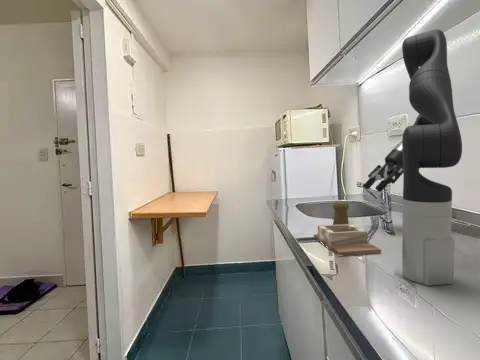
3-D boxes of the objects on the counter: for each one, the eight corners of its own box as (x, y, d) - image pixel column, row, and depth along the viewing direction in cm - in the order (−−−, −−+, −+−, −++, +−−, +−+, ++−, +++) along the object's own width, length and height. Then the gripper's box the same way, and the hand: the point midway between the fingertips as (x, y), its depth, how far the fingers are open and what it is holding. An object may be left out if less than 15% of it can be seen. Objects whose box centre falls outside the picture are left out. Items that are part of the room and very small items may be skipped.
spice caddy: (381, 253, 91) (381, 236, 90) (339, 256, 89) (338, 239, 89) (348, 236, 110) (348, 222, 110) (313, 238, 109) (313, 224, 109)
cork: (352, 234, 113) (352, 202, 112) (334, 234, 113) (334, 202, 113) (346, 230, 119) (346, 199, 118) (330, 230, 119) (329, 200, 119)
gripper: (383, 148, 124) (354, 180, 123) (407, 147, 109) (374, 183, 109) (397, 162, 125) (368, 194, 124) (422, 163, 110) (389, 198, 110)
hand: (371, 189), depth 117 cm, fingers open, 8 cm apart
